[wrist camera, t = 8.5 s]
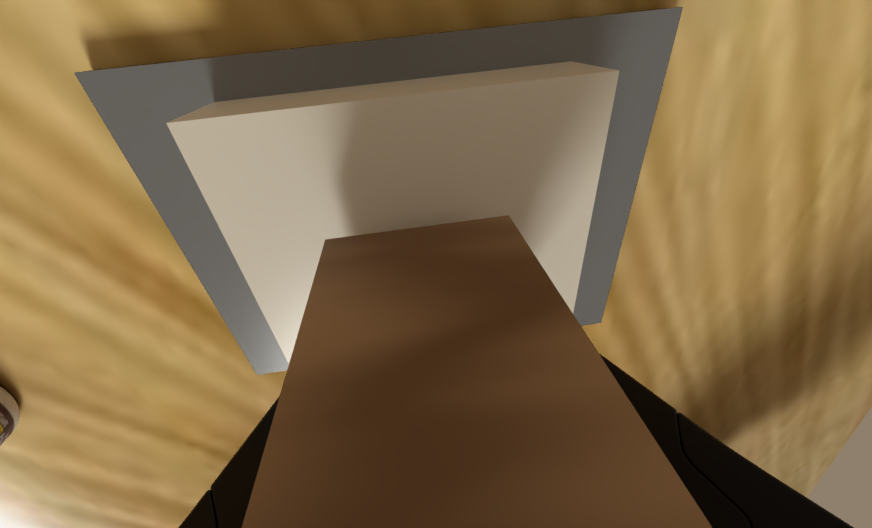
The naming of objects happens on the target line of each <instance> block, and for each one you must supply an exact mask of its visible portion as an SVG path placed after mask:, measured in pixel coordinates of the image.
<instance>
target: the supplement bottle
mask: <svg viewBox="0 0 872 528" xmlns="http://www.w3.org/2000/svg"><path fill="white" fill-rule="evenodd" d="M19 417H20V411H19V407H18V405H17V403H16V401H15V400H14V398H13V397H12V396H11V395H10V394H9V393H8V392H7V391H6V390H5V389H3V388H2V387H1V386H0V445H1V444H2V443H3V442H4V441H5V440H6V439H7V437H8V436H9V435H10V434H11V433H12V432H13V431H14V429H15V428H16V426H17V424H18V422H19Z"/></svg>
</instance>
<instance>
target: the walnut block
mask: <svg viewBox="0 0 872 528" xmlns="http://www.w3.org/2000/svg"><path fill="white" fill-rule="evenodd" d="M242 528H712V526H711V525H710V523H709V522H708V520H707V519H706V517H705V516H704V514H703V513H702V511H701V510H700V508H699V507H698V505H697V503H696V502H695V500H694V499H693V497H692V496H691V494H690V493H689V491H688V490H687V488H686V487H685V485H684V483H683V482H682V480H681V479H680V477H679V476H678V474H677V473H676V471H675V470H674V468H673V467H672V465H671V464H670V462H669V460H668V459H667V457H666V456H665V454H664V453H663V451H662V450H661V448H660V447H659V445H658V444H657V442H656V440H655V439H654V437H653V436H652V434H651V433H650V431H649V430H648V428H647V427H646V425H645V424H644V422H643V421H642V419H641V417H640V416H639V414H638V413H637V411H636V410H635V408H634V407H633V405H632V404H631V402H630V401H629V399H628V397H627V396H626V394H625V393H624V391H623V390H622V388H621V387H620V385H619V384H618V382H617V381H616V379H615V378H614V376H613V374H612V373H611V371H610V370H609V368H608V367H607V365H606V364H605V362H604V361H603V359H602V358H601V356H600V355H599V353H598V351H597V350H596V348H595V347H594V345H593V344H592V342H591V341H590V339H589V338H588V336H587V335H586V333H585V331H584V330H583V328H582V327H581V325H580V324H579V322H578V321H577V319H576V318H575V316H574V315H573V313H572V312H571V310H570V308H569V307H568V305H567V304H566V302H565V301H564V299H563V298H562V296H561V295H560V293H559V292H558V290H557V288H556V287H555V285H554V284H553V282H552V281H551V279H550V278H549V276H548V275H547V273H546V272H545V270H544V269H543V267H542V265H541V264H540V262H539V261H538V259H537V258H536V256H535V255H534V253H533V252H532V250H531V249H530V247H529V246H528V244H527V242H526V241H525V239H524V238H523V236H522V235H521V233H520V232H519V230H518V229H517V227H516V226H515V224H514V222H513V221H512V219H511V218H510V216H509V215H506V216H499V217H491V218H484V219H476V220H469V221H461V222H453V223H446V224H438V225H431V226H423V227H416V228H408V229H401V230H393V231H386V232H378V233H371V234H363V235H356V236H348V237H340V238H333V239H325V242H324V245H323V249H322V252H321V256H320V259H319V263H318V266H317V270H316V273H315V276H314V280H313V283H312V287H311V290H310V294H309V297H308V301H307V304H306V307H305V311H304V314H303V318H302V321H301V325H300V328H299V332H298V335H297V339H296V342H295V345H294V349H293V352H292V356H291V359H290V363H289V366H288V370H287V373H286V376H285V380H284V383H283V387H282V390H281V394H280V397H279V401H278V404H277V408H276V411H275V414H274V418H273V421H272V425H271V428H270V432H269V435H268V439H267V442H266V445H265V449H264V452H263V456H262V459H261V463H260V466H259V470H258V473H257V477H256V480H255V483H254V487H253V490H252V494H251V497H250V501H249V504H248V508H247V511H246V514H245V518H244V521H243V525H242Z"/></svg>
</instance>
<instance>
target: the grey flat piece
mask: <svg viewBox="0 0 872 528" xmlns="http://www.w3.org/2000/svg"><path fill="white" fill-rule="evenodd" d="M682 8H683V7H675V8H663V9H654V10H645V11H636V12H626V13H617V14H608V15H598V16H589V17H580V18H571V19H561V20H552V21H543V22H534V23H524V24H515V25H506V26H497V27H487V28H478V29H469V30H460V31H450V32H441V33H432V34H423V35H413V36H404V37H395V38H386V39H376V40H367V41H358V42H349V43H339V44H330V45H321V46H312V47H302V48H293V49H284V50H275V51H265V52H256V53H247V54H238V55H228V56H219V57H210V58H201V59H191V60H182V61H173V62H164V63H154V64H145V65H136V66H127V67H117V68H108V69H99V70H90V71H83V72H76V73H75V75H76V77H77V78H78V80H79V82H80V83H81V85H82V87H83V88H84V90H85V92H86V93H87V95H88V97H89V98H90V100H91V102H92V103H93V105H94V106H95V108H96V110H97V111H98V113H99V115H100V116H101V118H102V120H103V121H104V123H105V125H106V126H107V128H108V130H109V131H110V133H111V135H112V136H113V138H114V139H115V141H116V143H117V144H118V146H119V148H120V149H121V151H122V153H123V154H124V156H125V158H126V159H127V161H128V163H129V164H130V166H131V168H132V169H133V171H134V172H135V174H136V176H137V177H138V179H139V181H140V182H141V184H142V186H143V187H144V189H145V191H146V192H147V194H148V196H149V197H150V199H151V201H152V202H153V204H154V205H155V207H156V209H157V210H158V212H159V214H160V215H161V217H162V219H163V220H164V222H165V224H166V225H167V227H168V229H169V230H170V232H171V234H172V235H173V237H174V238H175V240H176V242H177V243H178V245H179V247H180V248H181V250H182V252H183V253H184V255H185V257H186V258H187V260H188V262H189V263H190V265H191V267H192V268H193V270H194V271H195V273H196V275H197V276H198V278H199V280H200V281H201V283H202V285H203V286H204V288H205V290H206V291H207V293H208V295H209V296H210V298H211V300H212V301H213V303H214V304H215V306H216V308H217V309H218V311H219V313H220V314H221V316H222V318H223V319H224V321H225V323H226V324H227V326H228V328H229V329H230V331H231V332H232V334H233V336H234V337H235V339H236V341H237V342H238V344H239V346H240V347H241V349H242V351H243V352H244V354H245V356H246V357H247V359H248V361H249V362H250V364H251V365H252V367H253V369H254V370H255V372H256V374H257V375H259V374H266V373H272V372H279V371H286V370H288V366H289V363H290V359H291V356H292V352H293V349H294V345H295V342H296V339H297V335H298V332H299V328H300V325H301V321H302V318H303V314H304V311H305V307H306V304H307V301H308V297H309V294H310V290H311V287H312V283H313V280H314V276H315V273H316V270H317V266H318V263H319V259H320V256H321V252H322V249H323V245H324V242H325V239H333V238H340V237H348V236H356V235H363V234H371V233H378V232H386V231H393V230H401V229H408V228H416V227H423V226H431V225H438V224H446V223H453V222H461V221H469V220H476V219H484V218H491V217H499V216H506V215H509V216H510V218H511V219H512V221H513V222H514V224H515V226H516V227H517V229H518V230H519V232H520V233H521V235H522V236H523V238H524V239H525V241H526V242H527V244H528V246H529V247H530V249H531V250H532V252H533V253H534V255H535V256H536V258H537V259H538V261H539V262H540V264H541V265H542V267H543V269H544V270H545V272H546V273H547V275H548V276H549V278H550V279H551V281H552V282H553V284H554V285H555V287H556V288H557V290H558V292H559V293H560V295H561V296H562V298H563V299H564V301H565V302H566V304H567V305H568V307H569V308H570V310H571V312H572V313H573V315H574V316H575V318H576V319H577V321H578V322H579V324H580V325H581V326H582V325H589V324H595V323H601V321H602V317H603V313H604V309H605V305H606V301H607V297H608V294H609V290H610V286H611V282H612V278H613V274H614V271H615V267H616V263H617V259H618V255H619V251H620V247H621V244H622V240H623V236H624V232H625V228H626V224H627V220H628V217H629V213H630V209H631V205H632V201H633V197H634V193H635V190H636V186H637V182H638V178H639V174H640V170H641V166H642V163H643V159H644V155H645V151H646V147H647V143H648V139H649V136H650V132H651V128H652V124H653V120H654V116H655V112H656V109H657V105H658V101H659V97H660V93H661V89H662V86H663V82H664V78H665V74H666V70H667V66H668V62H669V59H670V55H671V51H672V47H673V43H674V39H675V35H676V32H677V28H678V24H679V20H680V16H681V12H682Z"/></svg>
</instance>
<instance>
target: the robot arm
mask: <svg viewBox="0 0 872 528" xmlns="http://www.w3.org/2000/svg"><path fill="white" fill-rule="evenodd" d="M599 355H600V356H601V358H602V359H603V361H604V362H605V364H606V365H607V367H608V368H609V370H610V371H611V373H612V374H613V376H614V378H615V379H616V381H617V382H618V384H619V385H620V387H621V388H622V390H623V391H624V393H625V394H626V396H627V397H628V399H629V401H630V402H631V404H632V405H633V407H634V408H635V410H636V411H637V413H638V414H639V416H640V417H641V419H642V421H643V422H644V424H645V425H646V427H647V428H648V430H649V431H650V433H651V434H652V436H653V437H654V439H655V440H656V442H657V444H658V445H659V447H660V448H661V450H662V451H663V453H664V454H665V456H666V457H667V459H668V460H669V462H670V464H671V465H672V467H673V468H674V470H675V471H676V473H677V474H678V476H679V477H680V479H681V480H682V482H683V483H684V485H685V487H686V488H687V490H688V491H689V493H690V494H691V496H692V497H693V499H694V500H695V502H696V503H697V505H698V507H699V508H700V510H701V511H702V513H703V514H704V516H705V517H706V519H707V520H708V522H709V523H710V525H711V526H712V528H854V527H852V526H850V525H849V524H847V523H846V522H844V521H843V520H841V519H839V518H838V517H836V516H835V515H833V514H832V513H830V512H828V511H827V510H825V509H824V508H822V507H820V506H819V505H817V504H816V503H814V502H813V501H811V500H809V499H808V498H806V497H805V496H803V495H802V494H800V493H798V492H797V491H795V490H794V489H792V488H791V487H789V486H787V485H786V484H784V483H783V482H781V481H780V480H778V479H776V478H775V477H773V476H772V475H770V474H769V473H767V472H765V471H764V470H762V469H761V468H759V467H758V466H756V465H755V464H753V463H752V462H750V461H749V460H747V459H746V458H744V457H743V456H741V455H740V454H738V453H737V452H735V451H734V450H732V449H730V448H729V447H728V446H726V445H725V444H723V443H722V442H721V441H719V440H718V439H716V438H715V437H713V436H712V435H711V434H709V433H708V432H706V431H705V430H703V429H702V428H701V427H699V426H698V425H697V424H695V423H694V422H692V421H691V420H690V419H688V418H687V417H686V416H684V415H683V414H681V413H677V411H676V409H674V408H673V407H672V406H670V405H669V404H668V403H666V402H665V401H664V400H662V399H661V398H659V397H658V396H657V395H655V394H654V393H653V392H651V391H650V390H649V389H647V388H646V387H644V386H643V385H642V384H640V383H639V382H638V381H636V380H635V379H634V378H632V377H631V376H629V375H628V374H627V373H625V372H624V371H623V370H621V369H620V368H619V367H617V366H616V365H614V364H613V363H612V362H610V361H609V360H608V359H606V358H605V357H603V356H602V355H601V354H599ZM279 397H280V396H279ZM279 397H278V399H277V400H276V401H275V403H274V404H273V405H272V407H271V408H270V409H269V411H268V412H267V413H266V414H265V416H264V417H263V418H262V420H261V421H260V422H259V424H258V425H257V426H256V428H255V429H254V430H253V432H252V433H251V434H250V435H249V437H248V438H247V439H246V441H245V442H244V443H243V445H242V446H241V447H240V449H239V450H238V451H237V453H236V454H235V455H234V456H233V458H232V459H231V460H230V462H229V463H228V464H227V466H226V467H225V468H224V470H223V471H222V472H221V473H220V475H219V476H218V477H217V479H216V480H215V481H214V483H213V484H212V485H211V490H208V491H207V492H206V493H205V494H204V496H203V497H202V498H201V499H200V501H199V502H198V503H197V505H196V506H195V507H194V509H193V510H192V511H191V513H190V514H189V515H188V516H187V518H186V519H185V520H184V521H183V523H182V524H181V525H180V526H179V528H242V525H243V521H244V518H245V514H246V511H247V508H248V504H249V501H250V497H251V494H252V490H253V487H254V483H255V480H256V477H257V473H258V470H259V466H260V463H261V459H262V456H263V452H264V449H265V445H266V442H267V439H268V435H269V432H270V428H271V425H272V421H273V418H274V414H275V411H276V408H277V404H278V401H279Z"/></svg>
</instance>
